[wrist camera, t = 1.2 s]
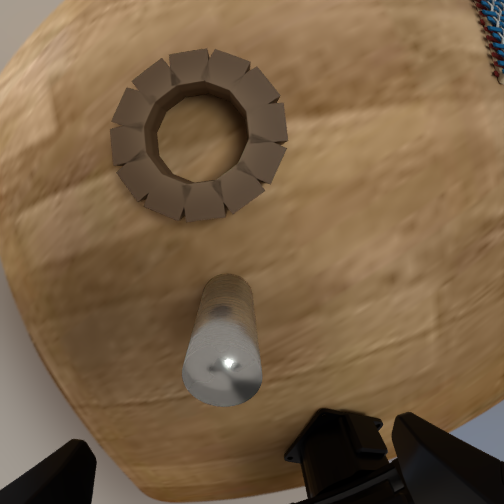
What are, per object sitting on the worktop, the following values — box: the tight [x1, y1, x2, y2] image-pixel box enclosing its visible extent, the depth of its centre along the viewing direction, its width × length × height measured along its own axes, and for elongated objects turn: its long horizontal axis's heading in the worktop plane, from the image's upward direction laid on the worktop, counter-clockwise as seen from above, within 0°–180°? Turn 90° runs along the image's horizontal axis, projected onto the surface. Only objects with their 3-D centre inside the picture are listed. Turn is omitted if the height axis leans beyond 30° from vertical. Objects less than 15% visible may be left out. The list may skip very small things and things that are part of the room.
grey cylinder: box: [182, 274, 262, 407], centre depth 15 cm, size 3×3×8 cm
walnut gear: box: [110, 48, 288, 222], centre depth 15 cm, size 9×9×3 cm
